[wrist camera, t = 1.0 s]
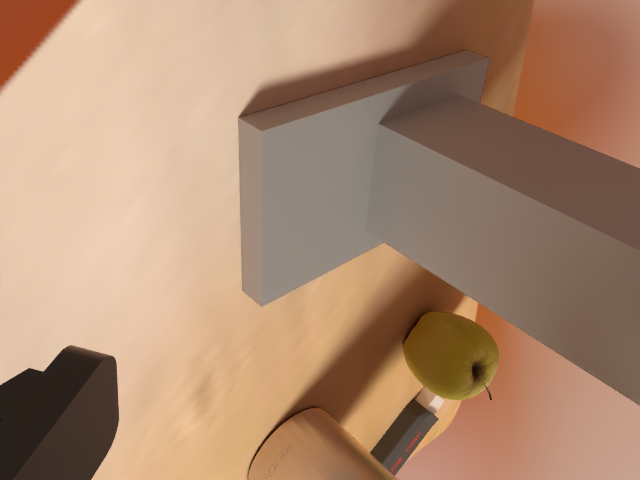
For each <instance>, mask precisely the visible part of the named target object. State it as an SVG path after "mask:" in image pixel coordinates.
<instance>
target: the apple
mask: <svg viewBox="0 0 640 480" xmlns="http://www.w3.org/2000/svg"><path fill="white" fill-rule="evenodd" d="M403 350H404V356H405V359H406V362H407V365H408V366H409V368H410V370H411V372H412V373H413V374H414V376H415V377H416V378H417V379H418V380H419V381H420V383H422V384H423V385H424V386H425V387H426V388H427V389H428V390H430V391H431V392H432V393H434V394H436V395H438V396H440V397H443V398H446V399H451V400H463V399H468V398H471V397H474V396H476V395H478V394H479V393H481V392H482V391H483V390H484V389H487V390H488V388H487V386H488V385H489V384H490V383H491V381H492V379H493V376H494V374H495V372H496V370H497V367H498V362H499V352H498V348H497V345H496V343H495V341H494V339H493V338H492V336H491V335H490V334H489V333H488V332H487V331H486V330H485V329H484V328H483V327H481V326H480V325H478V324H477V323H475V322H473V321H471V320H469V319H467V318H465V317H463V316H459V315H456V314H452V313H447V312H437V311H434V312H428V313H426V314H424V315H423V316H421V318H420V319H419V321H418V323H417V324H416V326H415V327H414V328H413V329H412V330H411V332H410V334H409V336H408V338H407V339H406V341H405V343H404V347H403ZM488 393H489V397H490V400H492V398H491V394H490V392H489V390H488Z"/></svg>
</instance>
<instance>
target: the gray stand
mask: <svg viewBox="0 0 640 480" xmlns="http://www.w3.org/2000/svg"><path fill="white" fill-rule="evenodd" d="M489 60H490V58H489V57H486V56H483V55H480V54H477V53H474V52H471V51H469V50H465V51H461V52H458V53H455V54H451V55H448V56H445V57H441V58H438V59H435V60H431V61H428V62H424V63H421V64H418V65H414V66H411V67H408V68H404V69H401V70H397V71H394V72H391V73H387V74H384V75H381V76H377V77H374V78H371V79H367V80H364V81H360V82H357V83H354V84H350V85H347V86H344V87H340V88H337V89H334V90H330V91H327V92H323V93H320V94H317V95H313V96H310V97H307V98H303V99H300V100H297V101H293V102H290V103H286V104H283V105H280V106H276V107H273V108H270V109H266V110H263V111H260V112H256V113H253V114H249V115H246V116H243V117H239V161H240V204H241V248H242V291H244V292H245V293H246V294H247V295H248V296H249V297H251V298H252V299H253V300H254V301H255V302H256V303H258V304H259V305H260V306H261V307H262V306H264V305H266V304H268V303H270V302H272V301H274V300H276V299H278V298H279V297H281V296H283V295H285V294H287V293H289V292H291V291H293V290H295V289H297V288H299V287H300V286H302V285H304V284H306V283H308V282H310V281H312V280H314V279H316V278H318V277H319V276H321V275H323V274H325V273H327V272H329V271H331V270H333V269H335V268H337V267H338V266H340V265H342V264H344V263H346V262H348V261H350V260H352V259H354V258H356V257H358V256H359V255H361V254H363V253H365V252H367V251H369V250H371V249H373V248H375V247H377V246H378V245H380V244H382V243H386V244H387V245H389V246H390V247H392V248H393V249H395V250H397V251H398V252H400V253H401V254H403V255H404V256H406V257H408V258H409V259H411V260H412V261H414V262H415V263H417V264H419V265H420V266H422V267H423V268H425V269H426V270H428V271H429V272H431V273H433V274H434V275H436V276H437V277H439V278H440V279H442V280H444V281H445V282H447V283H448V284H450V285H451V286H453V287H455V288H456V289H458V290H459V291H461V292H462V293H464V294H466V295H467V296H469V297H470V298H472V299H473V300H475V301H477V302H478V303H480V304H481V305H483V306H484V307H486V308H488V309H489V310H491V311H492V312H494V313H495V314H497V315H498V316H500V317H502V318H503V319H505V320H506V321H508V322H509V323H511V324H513V325H514V326H516V327H517V328H519V329H520V330H522V331H524V332H525V333H527V334H528V335H530V336H532V337H533V338H535V339H536V340H538V341H539V342H541V343H543V344H544V345H546V346H547V347H549V348H550V349H552V350H553V351H555V352H556V353H558V354H560V355H561V356H563V357H564V358H566V359H567V360H569V361H571V362H572V363H574V364H575V365H577V366H578V367H580V368H582V369H583V370H585V371H586V372H588V373H589V374H591V375H593V376H594V377H596V378H597V379H599V380H601V381H602V382H604V383H605V384H607V385H608V386H610V387H611V388H613V389H615V390H616V391H618V392H619V393H621V394H623V395H624V396H626V397H627V398H629V399H630V400H632V401H634V402H635V403H637V404H638V405H640V168H637V167H634V166H632V165H630V164H627V163H625V162H622V161H620V160H617V159H615V158H613V157H610V156H608V155H605V154H603V153H600V152H598V151H595V150H593V149H590V148H588V147H585V146H583V145H581V144H578V143H576V142H573V141H571V140H568V139H566V138H563V137H561V136H558V135H556V134H554V133H551V132H549V131H546V130H543V129H541V128H539V127H536V126H534V125H531V124H529V123H526V122H524V121H522V120H519V119H517V118H514V117H512V116H509V115H507V114H504V113H502V112H499V111H497V110H494V109H492V108H490V107H487V106H485V105H482V104H480V101H481V97H482V92H483V88H484V83H485V79H486V74H487V70H488V65H489Z"/></svg>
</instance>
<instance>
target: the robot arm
mask: <svg viewBox="0 0 640 480" xmlns="http://www.w3.org/2000/svg"><path fill="white" fill-rule="evenodd" d="M118 421H119V408H118V386H117V365H116V360H115V358H114V357H113V356H110V355H107V354H103V353H99V352H95V351H91V350H87V349H84V348H80V347H76V346H68V347H66V348H64V349H63V350H62V351H61V352H60V353H59V354H58V356H57V357H56V358H55V359H54V360H53V361H52V363H51V364H50V365H49V366H48V367H47V368H46V370H45V371H44V372H42V371H38V370H35V369H31V368H28V369H27V370H25V371H23V372H22V373H20V374H18V375H17V376H15V377H13V378H12V379H10V380H8V381H7V382H5V383H3V384H2V385H0V480H91V479H92V477H93V476H94V474H95V472H96V471H97V469H98V468H99V466H100V464H101V463H102V461H103V460H104V458H105V456H106V455H107V453H108V451H109V449H110V447H111V445H112V443H113V440H114V438H115V434H116V431H117V427H118ZM248 480H398V479H397V478H396V477H395V476H394V475H393V474H392V473H391V472H390V471H389V470H388V469H387V468H386V467H384V466H383V465H382V464H381V463H380V462H379V461H378V460H377V459H376V458H375V457H374V456H373V455H372V454H370V453H369V452H368V451H367V450H366V449H365V448H364V447H363V446H362V445H361V444H360V443H359V442H358V441H357V440H356V439H355V438H354V437H353V436H351V435H350V434H349V433H348V432H347V431H346V430H345V429H344V428H343V427H342V426H341V425H340V424H339V423H337V422H336V421H335V420H334V419H333V418H332V417H331V416H330V415H329V414H328V413H327V412H326V411H325V410H323V409H321V408H311V409H307V410H304V411H302V412H300V413H298V414H296V415H295V416H293V417H291V418H290V419H289V420H287V421H286V422H285V423H283V424H282V425H281V426H280V427H279V428H278V429H277V430H276V431H275V432H274V433H273V434H272V435H271V436H270V437H269V438H268V439H267V441H266V442H265V443H264V444H263V446H262V447H261V449H260V450H259V452H258V453H257V455H256V457H255V459H254V461H253V462H252V465H251V468H250V470H249V475H248Z"/></svg>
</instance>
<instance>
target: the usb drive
mask: <svg viewBox="0 0 640 480" xmlns="http://www.w3.org/2000/svg"><path fill="white" fill-rule="evenodd" d="M443 402H444V401H443V400H442V399H441V398H440V397H439V396H438V395H436V394H434V393H432V392H431V391H430V390H428V389H427V388H426V387H424V388H423V389H422V391H421V392H420V393H419V395H418V396H417V397H416V399H413V400H412V401H411V402H410V403H409V404H408V405H407V406H406V407H405V408H404V409H403V411H402V412H401V413H400V414H399V416H398V417H397V418H396V420H395V421H394V422H393V424H392V425H391V426H390V428H389V429H388V430H387V431H386V433H385V434H384V435H383V437H382V438H381V439H380V441H379V442H378V443H377V445H376V446H375V447H374V448H373V450H372V451H371V452H370V454H372V455H373V456H374V457H375V458H376V459H377V460H378V461H379V462H380V463H381V464H382V465H383V466H384V467H386V468H387V469H388V470H389V471H390V472H391V473H392V474H393V475H394V476H395V475H396V474H397V472H398V471H399V470H400V468H401V467H402V466H403V464H404V463H405V462H406V460H407V459H408V458H409V456H410V455H411V454H412V452H413V451H414V450H415V448H416V447H417V446H418V444H419V443H420V442H421V441H422V439H423V438H424V437H425V435H426V434H427V433H428V431H429V430H430V429H431V427H432V426H433V425H434V424H435V423H436V422H437V421H438V418H437V417H436V416H435V415H434V414H435V413H436V412H437V410H438V409H439V408H440V406H441V405H442V404H443Z"/></svg>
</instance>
